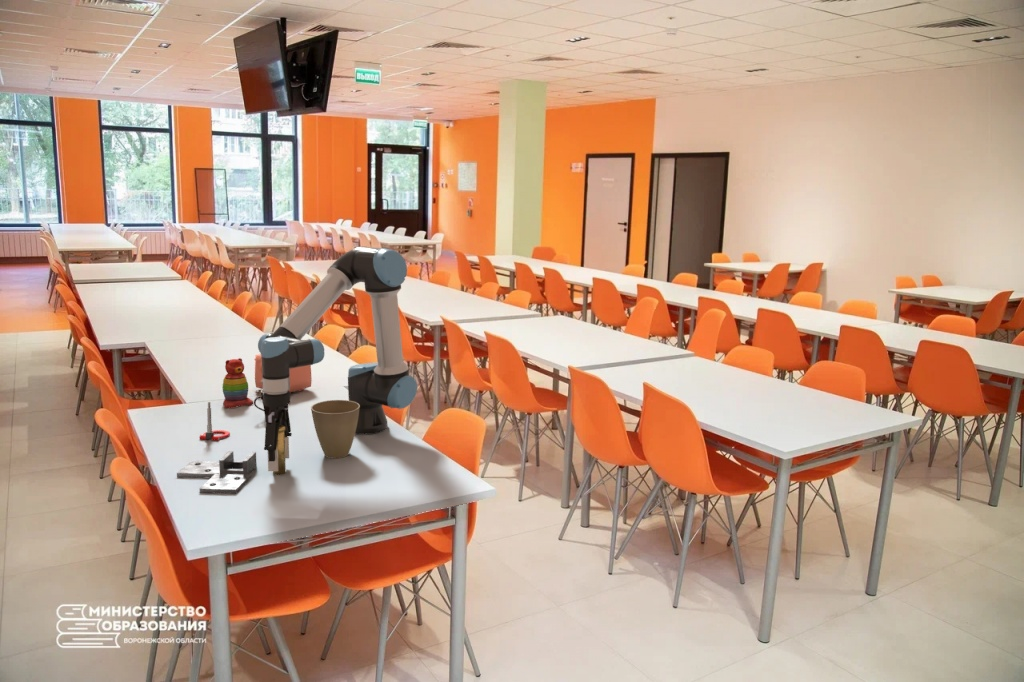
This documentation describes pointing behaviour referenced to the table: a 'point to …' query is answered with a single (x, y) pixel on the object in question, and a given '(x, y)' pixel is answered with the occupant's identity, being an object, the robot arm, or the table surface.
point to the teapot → (298, 376)
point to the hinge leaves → (221, 473)
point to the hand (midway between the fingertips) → (279, 464)
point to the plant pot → (335, 426)
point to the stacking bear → (235, 385)
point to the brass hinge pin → (281, 452)
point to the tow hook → (210, 434)
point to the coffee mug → (266, 408)
